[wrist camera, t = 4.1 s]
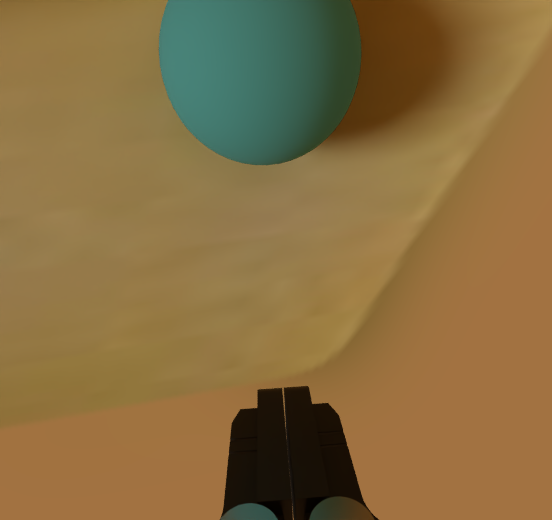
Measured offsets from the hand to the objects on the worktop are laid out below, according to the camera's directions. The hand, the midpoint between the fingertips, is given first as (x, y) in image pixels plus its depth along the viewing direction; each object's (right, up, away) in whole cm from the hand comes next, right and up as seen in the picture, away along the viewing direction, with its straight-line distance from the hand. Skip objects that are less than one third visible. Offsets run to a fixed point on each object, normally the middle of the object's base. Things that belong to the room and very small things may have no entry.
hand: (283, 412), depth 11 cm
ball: (-1, +10, 0) cm, 10 cm away
